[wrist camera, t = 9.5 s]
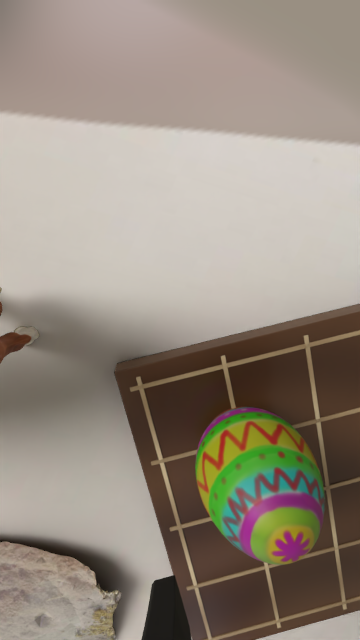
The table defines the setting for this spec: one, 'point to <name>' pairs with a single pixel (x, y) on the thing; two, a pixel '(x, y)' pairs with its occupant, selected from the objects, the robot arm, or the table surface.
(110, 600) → the decorative stone
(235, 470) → the egg
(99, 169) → the table surface
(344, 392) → the board
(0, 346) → the bull figurine
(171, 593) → the robot arm
